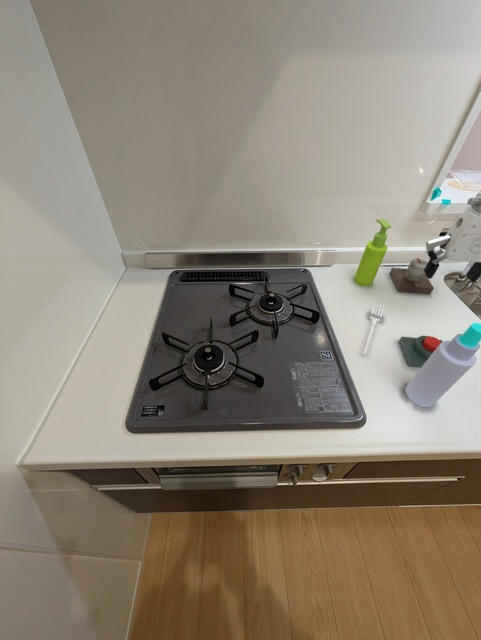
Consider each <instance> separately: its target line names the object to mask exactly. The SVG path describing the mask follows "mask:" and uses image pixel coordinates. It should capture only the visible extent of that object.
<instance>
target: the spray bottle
mask: <svg viewBox="0 0 481 640" xmlns="http://www.w3.org/2000/svg"><path fill="white" fill-rule="evenodd" d="M480 342H481V323H480V322H473V323H471V324H470V325H469V326H468V328H466V330H465V331H464V332H463V333H458V334H456V335H455V336H454V337H453V338H452V339H451V340H444V341H443V342H442V343H441V344H440V345H439V346H438V347H437V348H436V350H435V351H434V352H433V353H432V355H431V356H430V357H429V358H428V360H427V361H426V362H425V363H424V365H423V366H422V367H421V368H419V369H418V370H417V372H416V373H415V375H414V376H413V377H412V378H411V379H410V380H409V382H408V383H407V385H405V390H404V391H405V395H406V397H407V398H408V400H409V401H410V402H411V403H413V404H414V405H417V406H419V407H422V408H429V407H432V406H433V405H435V404H436V403H437V402H438V401H439V400H440V399H441V398H442V397H443V396H444V395H445V394H446V393H447V392H448V391H449V390H450V389H451V388H452V387H453V386H454V385H455V384H456V383H457V382H458V381H459V380H460V379H462V378H463V376H464V375H465V374H466V373H467V372H469V370H470V369H471V368H472V367H473V366H475V364H476V362H477V356H476V355H475V354H476V353H477V352H478V351H479V349H480V348H481V347H480V346H481V345H480Z"/></svg>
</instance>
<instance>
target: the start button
mask: <svg viewBox="0 0 481 640" xmlns="http://www.w3.org/2000/svg"><path fill="white" fill-rule="evenodd" d="M428 336H429V337H426V339H425V340H424V341H423V343H422V345H423V347H424V348H425V349H426V350H428V351H431V352H434V351H435V350H436V348H437V347H438V346H439V345H440V344H441V341H440V340H441V339H439V338H437V337H435V336H431V335H428Z"/></svg>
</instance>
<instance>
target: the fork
mask: <svg viewBox="0 0 481 640" xmlns="http://www.w3.org/2000/svg"><path fill="white" fill-rule="evenodd" d="M384 309H385V305H383V306H382V304H380V305H379V303H378V304H377V303H375V304H374V306H373V308H372V309H371V312H370V314H373V315H376V316H379V317H380V318H382V317H383V315H384ZM369 318H370V320H371V324H370V328H369V332H368V335H367V339H366V341H365V346H364V349H363V354H364V355H366V354H368V350H369V347H370V343H371V341H372V337H373V334H374V331H375V329H376V325H377V322H378V323H379V322H381V319H380V318H378V317H377V318H376V317H374V316H369Z"/></svg>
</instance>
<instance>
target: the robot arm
mask: <svg viewBox="0 0 481 640" xmlns="http://www.w3.org/2000/svg"><path fill="white" fill-rule="evenodd" d="M466 205H467V206H468V207H466V208H465V209H464V210H463V211H462V212H461V214H460V215H459V216H458V217H457V218H456V220H455V221H454V222H453V223H452V225H451V227H450V228H449V229H448V230H447V232H446V234H445V235H444V236H441V237H437V238H433V239H430V240H427V241H426V242H425V252H426V254H427V256H428V258H429V260H428V261H427V265H426V267H425V269H424V273H425V275H426V276H427V278H428V279H429V280H431V279H432V278H433V277H434V276H435V274H436V273H437V271H438V269H439V267H440V263H441V262H443V261H445V260H446V259H448V260H449V261H455V262H458V261H459V262H467V263H468V262H469V263H473V264H472V265H471V267H470V268H469V269H468V271H467V272H466V273H465V276H466V278H467V279H468V280H469V281H470V282H471V283H476V282H477V281H478V279H479V278H480V277H481V189H480V190H479V192H477V194H476V196H474V197H469V198H468V200H467V203H466ZM436 247H439V248H438V249H437V250H435V249H436Z"/></svg>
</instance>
